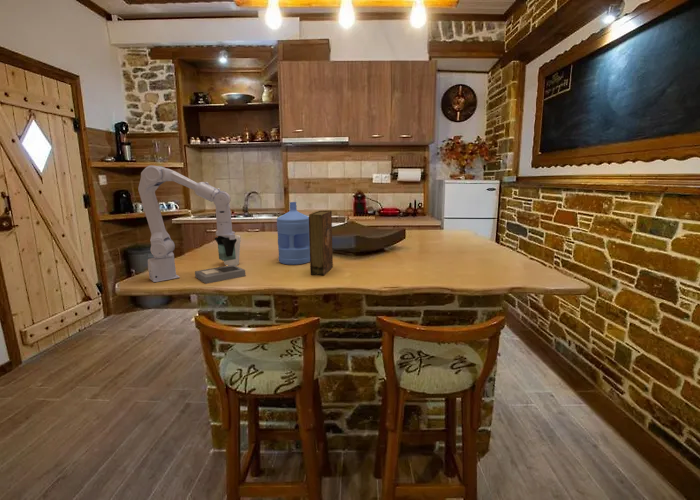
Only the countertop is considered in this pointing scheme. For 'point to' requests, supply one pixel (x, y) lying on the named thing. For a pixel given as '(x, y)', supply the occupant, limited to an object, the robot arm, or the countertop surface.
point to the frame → (219, 273)
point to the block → (223, 254)
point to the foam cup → (237, 252)
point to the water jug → (293, 237)
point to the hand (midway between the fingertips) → (226, 255)
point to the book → (320, 242)
